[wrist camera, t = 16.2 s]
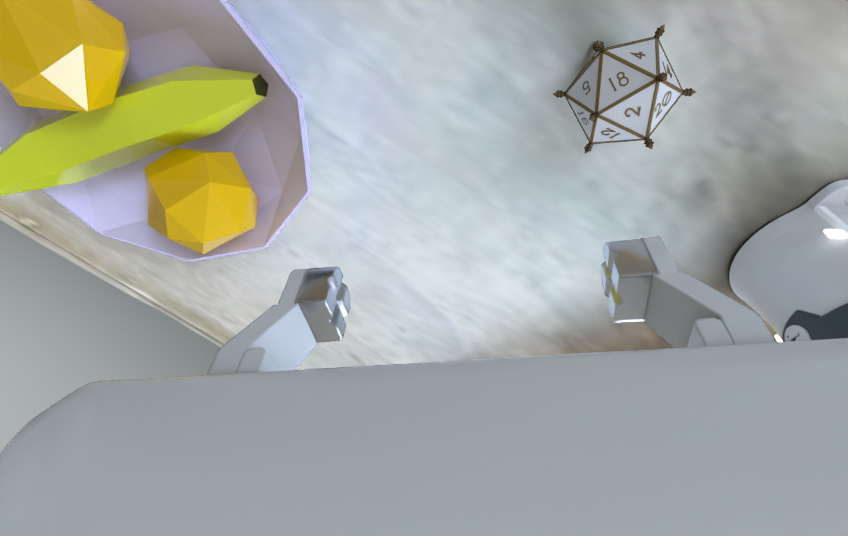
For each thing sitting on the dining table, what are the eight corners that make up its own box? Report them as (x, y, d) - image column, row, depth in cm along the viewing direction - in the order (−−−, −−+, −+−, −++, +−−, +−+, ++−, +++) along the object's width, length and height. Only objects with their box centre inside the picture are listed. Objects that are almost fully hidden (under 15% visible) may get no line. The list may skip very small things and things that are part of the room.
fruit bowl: (308, -68, 34) (257, -37, 25) (332, 237, 52) (307, 314, 43) (-90, -102, 34) (-273, -83, 25) (72, 214, 52) (-4, 287, 43)
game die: (605, 33, 40) (693, -23, 31) (650, 123, 42) (747, 97, 32) (519, 90, 40) (581, 51, 30) (568, 179, 41) (642, 169, 32)
